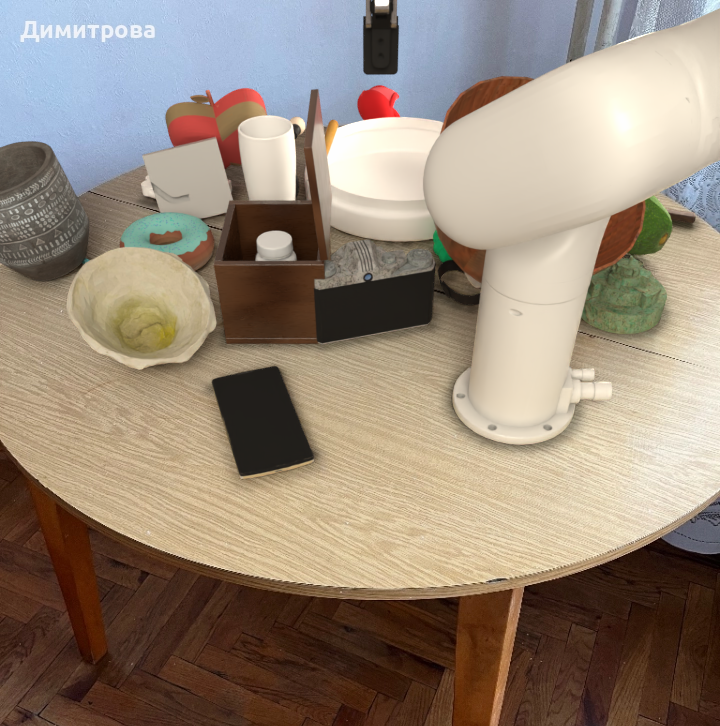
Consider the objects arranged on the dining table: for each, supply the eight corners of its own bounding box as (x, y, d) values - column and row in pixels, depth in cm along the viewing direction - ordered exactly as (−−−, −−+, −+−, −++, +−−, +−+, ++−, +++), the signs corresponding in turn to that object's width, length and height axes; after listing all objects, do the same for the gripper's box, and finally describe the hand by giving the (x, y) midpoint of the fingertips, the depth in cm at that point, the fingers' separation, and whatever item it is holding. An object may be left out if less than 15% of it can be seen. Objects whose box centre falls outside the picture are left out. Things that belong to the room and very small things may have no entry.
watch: (495, 302, 93) (499, 275, 91) (463, 314, 92) (466, 287, 89) (458, 271, 98) (460, 245, 95) (427, 282, 96) (428, 256, 94)
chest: (226, 344, 89) (213, 264, 81) (239, 277, 98) (229, 200, 90) (328, 344, 88) (324, 264, 81) (332, 277, 98) (328, 200, 90)
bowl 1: (113, 413, 81) (87, 335, 73) (70, 343, 89) (43, 266, 81) (242, 364, 86) (231, 287, 79) (191, 302, 94) (176, 226, 87)
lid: (303, 147, 72) (311, 147, 72) (310, 89, 81) (318, 88, 81) (320, 261, 81) (327, 260, 80) (325, 196, 90) (332, 196, 90)
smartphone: (239, 476, 73) (210, 377, 83) (241, 484, 74) (211, 385, 83) (315, 458, 74) (277, 363, 84) (316, 466, 75) (278, 371, 85)
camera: (417, 292, 95) (421, 217, 87) (436, 324, 90) (442, 247, 83) (299, 313, 92) (293, 237, 85) (313, 347, 88) (308, 270, 80)
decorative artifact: (569, 284, 96) (581, 333, 89) (580, 232, 91) (593, 280, 84) (651, 285, 96) (669, 335, 89) (667, 234, 91) (687, 282, 84)
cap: (359, 111, 129) (350, 131, 126) (363, 76, 124) (353, 96, 121) (405, 123, 129) (397, 143, 126) (411, 88, 124) (403, 108, 121)
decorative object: (189, 184, 115) (161, 129, 100) (183, 161, 115) (155, 102, 100) (278, 163, 115) (264, 105, 100) (273, 140, 115) (258, 78, 100)
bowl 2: (360, 221, 89) (393, 154, 78) (475, 111, 99) (519, 39, 89) (522, 366, 90) (577, 318, 79) (620, 242, 100) (680, 186, 90)
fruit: (700, 197, 96) (671, 236, 91) (655, 256, 104) (626, 294, 99) (599, 131, 98) (564, 165, 93) (563, 194, 106) (530, 228, 101)
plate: (267, 205, 110) (263, 167, 106) (374, 135, 124) (374, 100, 120) (431, 264, 99) (433, 225, 95) (526, 180, 114) (532, 143, 110)
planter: (-7, 274, 100) (-67, 184, 90) (66, 222, 105) (17, 132, 95) (44, 302, 94) (-15, 209, 84) (120, 246, 98) (73, 152, 89)
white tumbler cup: (294, 223, 107) (285, 111, 95) (307, 248, 102) (300, 134, 91) (246, 231, 105) (231, 119, 94) (257, 257, 101) (243, 142, 90)
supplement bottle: (294, 317, 91) (288, 253, 84) (255, 312, 91) (247, 248, 85) (304, 294, 94) (300, 230, 88) (266, 289, 94) (259, 226, 88)
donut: (192, 225, 106) (187, 197, 103) (232, 265, 99) (228, 237, 96) (109, 252, 102) (101, 223, 99) (145, 295, 95) (137, 267, 92)
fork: (341, 116, 113) (323, 180, 99) (342, 129, 114) (324, 194, 100) (324, 115, 113) (303, 179, 99) (325, 128, 114) (304, 193, 100)
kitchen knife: (697, 211, 106) (696, 217, 104) (695, 218, 106) (693, 224, 105) (564, 190, 111) (561, 195, 109) (563, 197, 111) (560, 202, 110)
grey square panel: (235, 226, 108) (234, 220, 111) (234, 139, 103) (232, 136, 106) (146, 224, 106) (147, 218, 109) (140, 134, 100) (141, 131, 103)
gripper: (438, -171, 54) (424, 102, 68) (427, -203, 65) (416, 38, 78) (330, -170, 54) (338, 103, 68) (337, -202, 65) (342, 39, 78)
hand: (380, 67), depth 73 cm, fingers closed
